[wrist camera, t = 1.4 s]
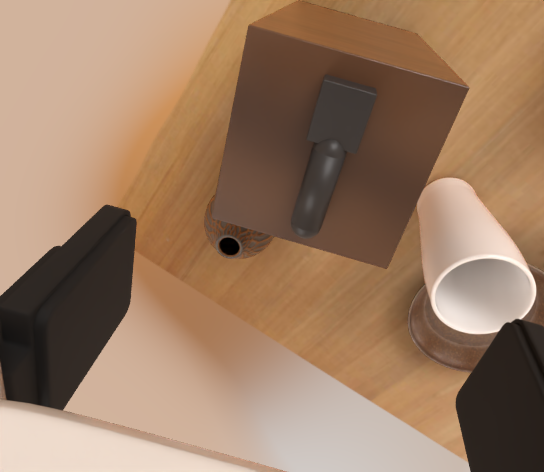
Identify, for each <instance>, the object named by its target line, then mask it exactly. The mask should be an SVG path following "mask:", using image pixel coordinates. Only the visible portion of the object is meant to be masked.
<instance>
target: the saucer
mask: <svg viewBox="0 0 544 472" xmlns="http://www.w3.org/2000/svg"><path fill="white" fill-rule="evenodd" d="M527 265H528V267H529V269H530V271H531V274H532V275H533V277H534V280H535V283H536V297H535V301H534V304H533V306H532V308H531V309H530V311H529V312H528V313H527V314H526V315H525V316H524V318H522V319H521V320H525V321H529V322H532V323H536V324H539V325H542V326H543V327H544V272H543V271H541V270H540V269H538V268H536V267H534V266H532V265H529V264H527ZM408 329H409V333H410V335H411V338H412V340H413V341H414V343H415V345H416V346H417V347H418V348H419V350H420V351H421V352H422V353H423V354H424V355H426V356H427V357H428V358H430V359H431V360H433V361H434V362H436V363H438V364H440V365H443V366H445V367H448V368H451V369H454V370H458V371H462V372H470V373H472V371H473V370H474V368H475V367H476V365H477V364H478V362H479V361H480V359H481V358H482V356H483V355H484V353H485V352H486V350H487V349H488V347H489V346H490V344H491V343H492V341H493V340H494V338H495V336H496V335H497V333H498V332H499V331H498V332H494V333H489V334H469V333H464V332H460V331H457V330H455V329H452V328H450V327H449V326H447V325H446V324H444V323H443V322H442V321H441V320H440V319H439V318H438V317H437V316H436V314H435V312H434V311H433V308H432V305H431V302H430V299H429V295H428V292H427V289H426V285H425V284H424V285H423V287H422V288H421V289H420V290H419V291H418V293H417V294H416V296H415V297H414V299H413V301H412V303H411V306H410V309H409V313H408Z"/></svg>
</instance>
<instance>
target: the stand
mask: <svg viewBox="0 0 544 472" xmlns="http://www.w3.org/2000/svg"><path fill="white" fill-rule="evenodd" d="M326 74H327V75H331V76H334V77H338V78H341V79H345V80H348V81H352V82H355V83H359V84H362V85H366V86H369V87H373V88H376V91H377V98H376V100H375V103H374V106H373V109H372V112H371V114H370V117H369V120H368V123H367V126H366V129H365V131H364V134H363V137H362V140H361V143H360V145H359V148H358V151H357V153H356V154H353V153H350V152H347V153H346V157H345V160H344V163H343V166H342V169H341V172H340V175H339V178H338V180H337V183H336V186H335V189H334V192H333V195H332V198H331V201H330V204H329V207H328V210H327V213H326V215H325V218H324V221H323V224H322V227H321V230H320V231H319V233H318V234H317V235H316V236H314V237H312V238H308V239H304V238H300V237H298V236H297V235H296V234H295V233H294V232H293V230H292V228H291V218H292V214H293V211H294V208H295V204H296V201H297V198H298V194H299V191H300V188H301V184H302V181H303V178H304V174H305V171H306V168H307V164H308V161H309V158H310V154H311V151H312V147H313V145H314V143H315V142H311V141H308V140H306V137H307V134H308V130H309V127H310V123H311V120H312V116H313V113H314V110H315V106H316V103H317V99H318V96H319V92H320V89H321V85H322V82H323V78H324V75H326ZM468 90H469V86H468V85H467V84H466V83H465V82H464V81H463V80H462V79H461V78H460V77H459V76H458V75H457V74H456V73H455V72H454V71H453V70H452V69H451V68H450V67H449V66H448V65H447V64H446V63H445V62H444V61H443V60H442V59H441V58H440V57H439V56H438V55H437V54H436V53H435V52H434V51H433V49H432V48H431V47H430V46H429V45H428V44H427V43H426V42H425V41H424V40H423V39H422V38H421V37H420V36H419V35H418V34H417V33H413V32H409V31H406V30H402V29H399V28H395V27H392V26H388V25H385V24H381V23H378V22H374V21H370V20H367V19H363V18H360V17H356V16H353V15H349V14H346V13H342V12H338V11H335V10H331V9H328V8H324V7H321V6H317V5H314V4H310V3H307V2H303V1H299V0H298V1H296V2H294V3H292V4H290V5H288V6H286V7H284V8H282V9H280V10H278V11H276V12H274V13H272V14H270V15H268V16H266V17H264V18H262V19H260V20H258V21H256V22H254V23H252V24H250V25H249V26H248V30H247V35H246V41H245V46H244V51H243V56H242V61H241V66H240V72H239V77H238V82H237V87H236V92H235V98H234V103H233V108H232V113H231V118H230V123H229V129H228V134H227V139H226V144H225V149H224V154H223V160H222V165H221V170H220V175H219V180H218V185H217V191H216V196H215V201H214V206H213V211H212V216H211V217H212V218H213V219H217V220H220V221H224V222H227V223H230V224H234V225H237V226H241V227H244V228H248V229H251V230H255V231H258V232H261V233H265V234H268V235H272V236H275V237H279V238H282V239H286V240H289V241H292V242H296V243H299V244H303V245H306V246H310V247H313V248H317V249H320V250H323V251H327V252H330V253H334V254H337V255H341V256H344V257H348V258H351V259H354V260H358V261H361V262H365V263H368V264H372V265H375V266H379V267H382V268H385V269H387V268H388V266H389V264H390V261H391V259H392V257H393V255H394V253H395V250H396V248H397V246H398V244H399V242H400V239H401V237H402V235H403V233H404V231H405V228H406V226H407V224H408V222H409V220H410V217H411V215H412V213H413V211H414V209H415V206H416V204H417V202H418V200H419V198H420V195H421V193H422V191H423V189H424V187H425V185H426V182H427V180H428V178H429V176H430V174H431V171H432V169H433V167H434V165H435V163H436V160H437V158H438V156H439V154H440V152H441V149H442V147H443V145H444V143H445V141H446V138H447V136H448V134H449V132H450V130H451V127H452V125H453V123H454V121H455V119H456V116H457V114H458V112H459V110H460V108H461V105H462V103H463V101H464V99H465V97H466V94H467V92H468Z"/></svg>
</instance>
